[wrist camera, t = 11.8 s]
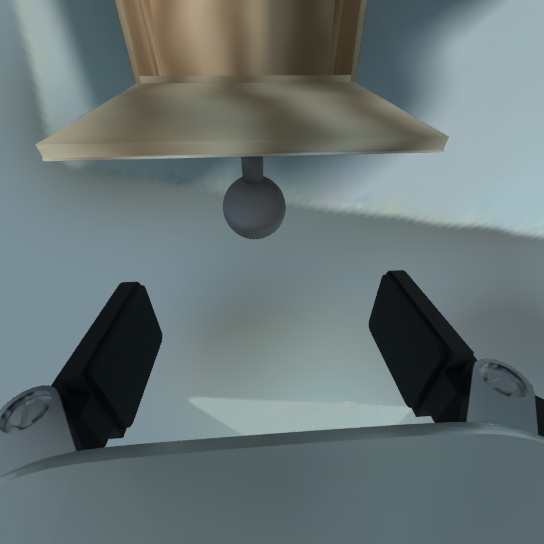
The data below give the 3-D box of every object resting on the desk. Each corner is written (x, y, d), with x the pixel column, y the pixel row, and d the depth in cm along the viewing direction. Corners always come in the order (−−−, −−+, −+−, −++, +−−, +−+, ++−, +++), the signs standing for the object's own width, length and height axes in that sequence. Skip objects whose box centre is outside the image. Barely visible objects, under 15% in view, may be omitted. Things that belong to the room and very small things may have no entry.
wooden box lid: (452, 138, 13) (403, 245, 17) (354, 81, 24) (340, 155, 29) (31, 147, 12) (98, 258, 16) (136, 83, 23) (158, 159, 28)
